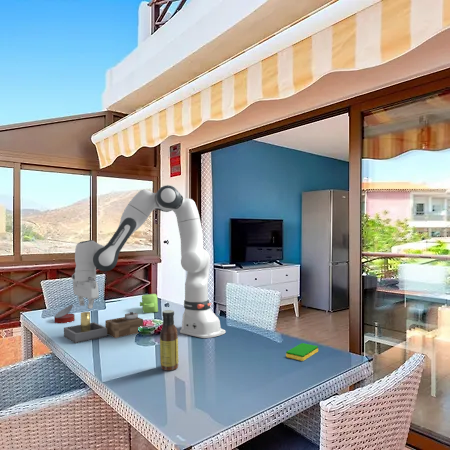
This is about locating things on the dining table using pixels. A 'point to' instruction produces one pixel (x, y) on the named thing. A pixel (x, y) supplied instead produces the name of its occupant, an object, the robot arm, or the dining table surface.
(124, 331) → the brown wooden box
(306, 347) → the dish sponge
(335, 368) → the dining table surface
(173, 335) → the sauce bottle
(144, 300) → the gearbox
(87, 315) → the pin
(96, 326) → the pin tray
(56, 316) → the canned food
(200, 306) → the robot arm
